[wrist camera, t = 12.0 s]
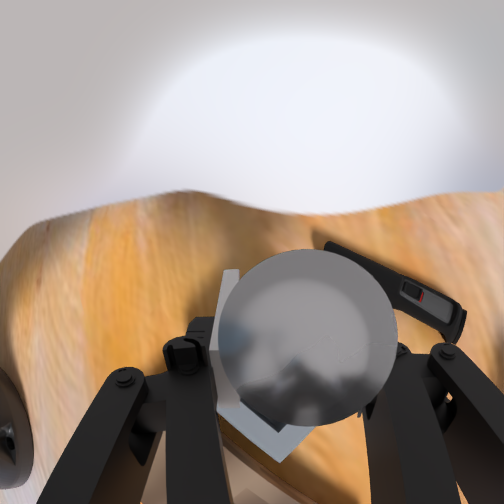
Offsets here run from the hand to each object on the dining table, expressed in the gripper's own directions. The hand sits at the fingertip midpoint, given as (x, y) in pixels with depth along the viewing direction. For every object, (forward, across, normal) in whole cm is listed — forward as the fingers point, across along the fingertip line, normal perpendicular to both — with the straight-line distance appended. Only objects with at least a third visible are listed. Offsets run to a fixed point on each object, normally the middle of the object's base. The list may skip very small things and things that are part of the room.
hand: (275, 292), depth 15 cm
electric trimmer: (+7, +12, -6) cm, 15 cm away
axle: (+2, 0, -7) cm, 7 cm away
